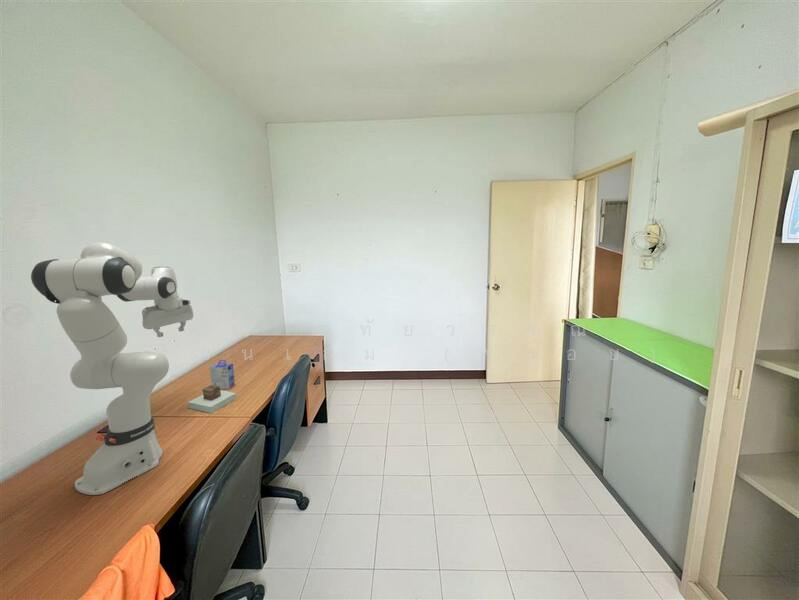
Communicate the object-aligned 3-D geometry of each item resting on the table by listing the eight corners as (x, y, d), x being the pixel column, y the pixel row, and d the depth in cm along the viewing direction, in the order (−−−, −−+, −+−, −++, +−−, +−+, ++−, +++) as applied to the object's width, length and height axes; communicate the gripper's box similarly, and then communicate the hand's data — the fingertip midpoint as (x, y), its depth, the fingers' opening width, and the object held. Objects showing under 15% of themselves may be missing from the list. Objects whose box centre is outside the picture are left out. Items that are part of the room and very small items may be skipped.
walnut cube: (211, 400, 146) (210, 390, 145) (203, 399, 147) (202, 389, 146) (220, 395, 150) (219, 386, 149) (213, 394, 152) (211, 384, 151)
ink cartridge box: (235, 384, 169) (233, 359, 166) (230, 389, 164) (227, 363, 161) (217, 384, 169) (214, 359, 167) (211, 389, 164) (208, 363, 161)
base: (211, 413, 140) (210, 407, 140) (188, 408, 145) (187, 402, 144) (236, 398, 154) (236, 393, 153) (214, 394, 158) (214, 388, 157)
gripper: (146, 308, 127) (151, 341, 130) (193, 300, 146) (197, 328, 149) (136, 307, 129) (141, 339, 132) (184, 299, 148) (187, 327, 151)
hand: (171, 333), depth 140 cm, fingers open, 8 cm apart
